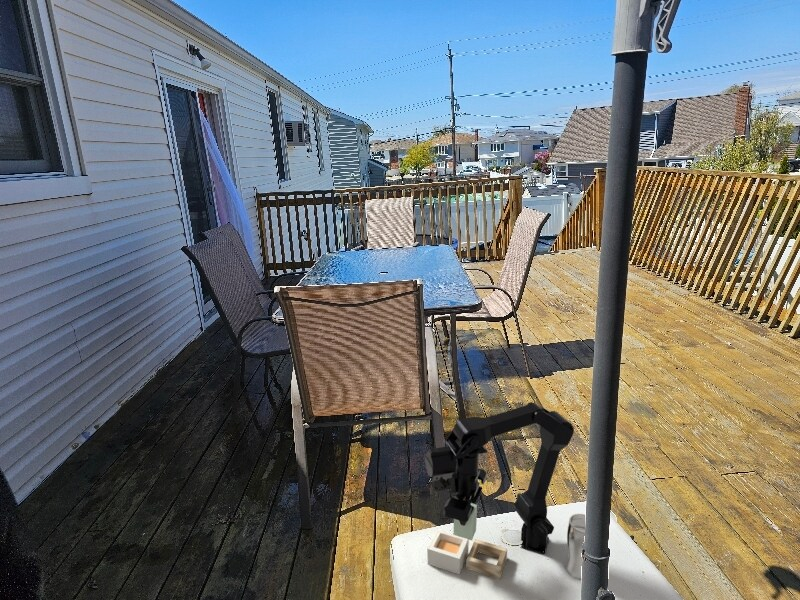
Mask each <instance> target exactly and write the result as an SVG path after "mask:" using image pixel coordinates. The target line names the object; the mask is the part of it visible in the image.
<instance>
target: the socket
mask: <svg viewBox="0 0 800 600" xmlns="http://www.w3.org/2000/svg"><path fill="white" fill-rule="evenodd" d="M441 540H443V541H446V542H449V543H452V544H456V545H459V546H460V548H459V550H458V552H457V554H454V553H451V552H448V551H445V550H442V549H438V548H437V547H438V545H439V543H440V541H441ZM469 543H470V541H469V539H466V538H463V537H459V536H456V535H453V532H451V531H447V530H444V529H439V528H437V530H436V532H435V534H434V535H433V538H432V539H431V541H430V543H429V545H428V547H427V554H426V555H427V565H430V566H433V567H436V568H439V569H442V570H444V571H448V572H451V573H454V574H457V575H460V574H461V571H462V569H463V566H464V564H465V562H466V560H465V559H467V558H466V557H468V555H469V552H470V550H469Z"/></svg>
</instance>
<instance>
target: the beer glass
mask: <svg viewBox="0 0 800 600" xmlns="http://www.w3.org/2000/svg"><path fill="white" fill-rule="evenodd" d="M585 515H586V514H583V513H574V514H572V515H571V516H570V517H569V519H568V526H567V531H566V533H567V534H566V542H567V549H568V550H567V551H568V559H567V562H566V565H565V566H566V567H565V569H566V572H567V573H568V574H569V575H570V576H571V577H573V578H575V579H578V580H582V579H581V566H582V557H581V553H582V544H583V542H584V536H585Z"/></svg>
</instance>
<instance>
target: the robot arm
mask: <svg viewBox="0 0 800 600" xmlns="http://www.w3.org/2000/svg"><path fill="white" fill-rule="evenodd" d="M535 424H536V425H538V426H539V434H540V441H541V442H540V447H539V451H538V454H537V457H536V460H535V464H534V468H533V470H532V473H531V477H530V481H529V484H528V488H527V490H525V491H524V492H522V493H520V492H519V493H517V496H516V499H515V500H516V501H515V502H514V504H513V505H514V509H515V512H516V513H517V514H518V516H519V517H520V519H521V520H522V521H523V523H522V525H521V531H520V532H521V533H520V534H521V535H520V541H521V547H520V548H521V549H525V550H529V551H532V552H535V553H539V554H542V555H546V552H547V548H548V545H549V538H550V537H549V535H552V534H553V532H554V530H555V526H554V525H553V524H552V522H551V520H549V519H548V517H547V516H548V508H547V507H548V506H547V500H546V499H547V494H548V491H549V489H550V484H551V481H552V478H553V475H554V472H555V469H556V466H557V462H558V459H559V455H560V452H561V451H562V450H563V449H564V448H567V446H568V445H569V444H570V442H571V440H572V438H573V436H574V433H575V428H574V426H573V424H572V423H571V422H570V421H568V420H567V419H566V418H565V416H562V415H561V414H560V413H559V412H558V411H555V410H553V411H552V410H551V411H549V410H548V409H546V408H544V407H543V406H540V405H538V403H536V402H533V401H532V402H531V401H530V402H528V403H526V404H525V405H523V406H519V407H517V408H514V409H510V410H507V411H503V412H500V413H497V414H493V415H491V416H486V417H479V416H470V417H469V416H468V417H463V418H460V419H458V420H457V421H456V422H455V425H453V426H454V427H453V428H452V430H451V431H450V432H449V434H448V435H447V437H446V438H445V439H444V443H445V444H446V446H440V447H432V448H428V452H426V454H425V456H424V462H425V464H424V465H425V468H426V472H427V474H428V476H429V477H430V478H432V481H431V482H432V486H431V487H432V488H433V490H434V491H435V492H444V491H445V490H450V493H453V494H456V495H455V497H450V498H448V499H446V502H445V504H444V506H443V508H442V509H443V510H442V511H443V516H444V517H446V518H449V519H453V520H454V519H456V520H459V522H460V524H461V525H463V526H465V524H466V522H467V521H468V520H469V517H470V515H471V514H472V511H473V509H474V506H471V503H473V504H476V503H477V501H478V499H479V497H480V495H481V494H482V493H481V492H482V491H483V487H482V486H480V484H481V485H485V482H486V481H487V472H486V471H485V469H484V468H479V457H480V455H481V454H486V453H488V450H487V448H486V446H485V445H487V444H488V443H489V442H490V441H491V439H492V438H495V437H498V436H499V435H503V434H507V433H510V432H513V431H515V430H519V429H522V428H525V427H528V426H532V425H535ZM456 440H457V441H458V442H459V443H460V445H459V444H458V443H457V442H456Z"/></svg>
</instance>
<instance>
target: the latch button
mask: <svg viewBox="0 0 800 600" xmlns="http://www.w3.org/2000/svg"><path fill="white" fill-rule="evenodd" d="M437 548H438V549H442V550H445V551H448V552H451V553H454V554H457V552H458V550H459V548H460V546H459V545H456V544H452V543H449V542H446V541H443V540H441V541H440V543H439V545H438V547H437Z"/></svg>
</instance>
